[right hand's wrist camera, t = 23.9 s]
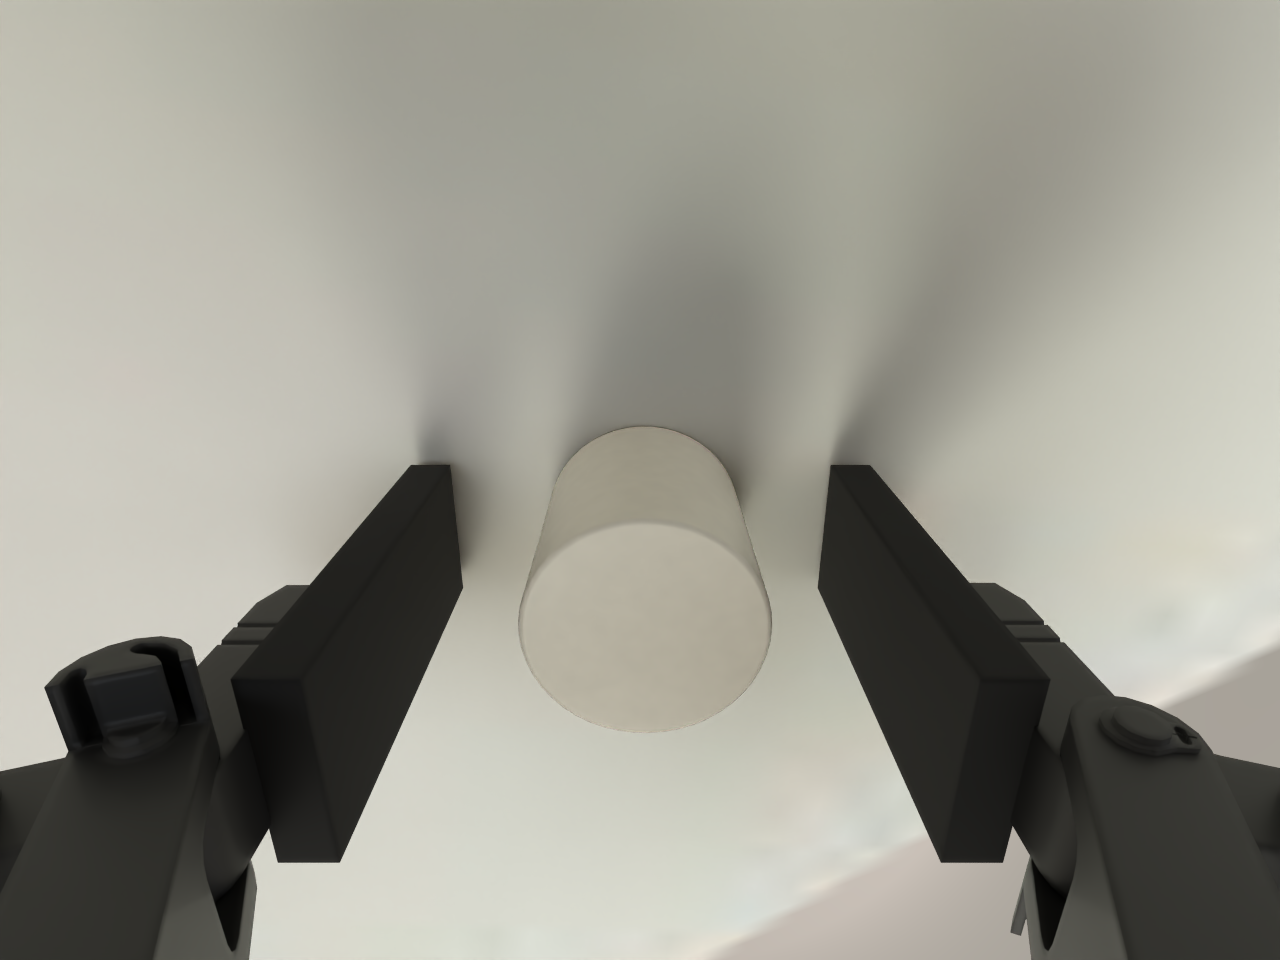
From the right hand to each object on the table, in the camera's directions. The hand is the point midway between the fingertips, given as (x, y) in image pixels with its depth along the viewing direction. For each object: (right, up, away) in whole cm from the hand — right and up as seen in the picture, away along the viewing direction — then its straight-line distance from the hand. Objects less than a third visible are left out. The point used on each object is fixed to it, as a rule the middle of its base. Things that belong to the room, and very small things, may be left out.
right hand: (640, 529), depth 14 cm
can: (0, 0, 0) cm, 0 cm away
